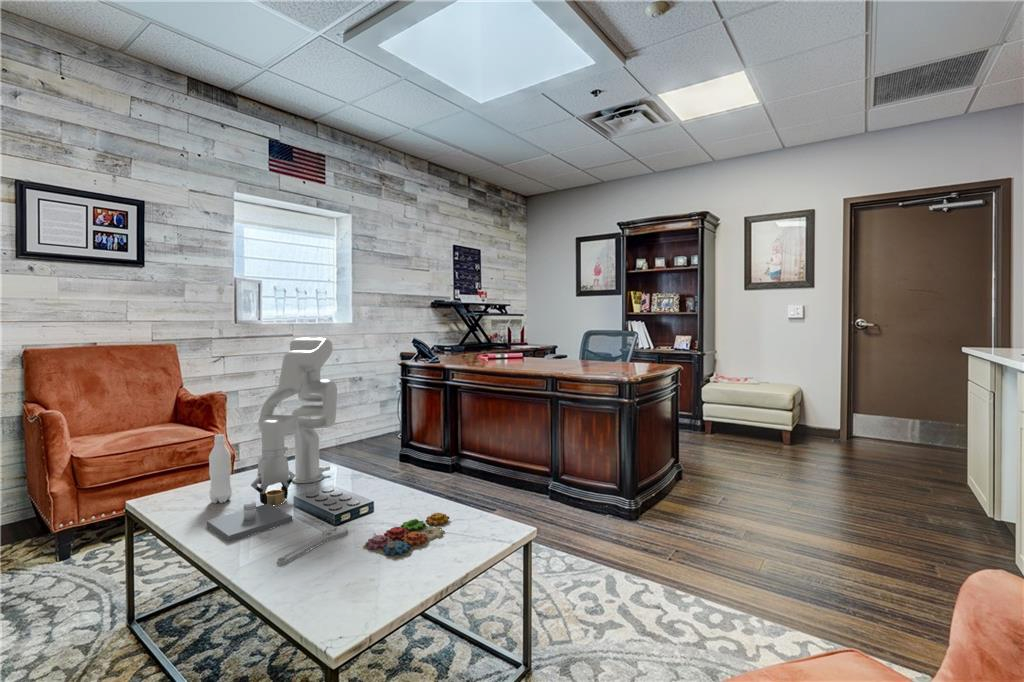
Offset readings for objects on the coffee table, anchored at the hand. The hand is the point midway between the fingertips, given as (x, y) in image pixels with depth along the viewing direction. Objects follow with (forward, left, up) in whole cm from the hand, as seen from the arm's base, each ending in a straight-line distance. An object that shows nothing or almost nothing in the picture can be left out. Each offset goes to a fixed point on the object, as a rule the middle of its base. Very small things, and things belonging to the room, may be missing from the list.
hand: (274, 500), depth 187 cm
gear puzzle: (-16, +62, -2) cm, 64 cm away
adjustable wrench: (+9, +43, -2) cm, 44 cm away
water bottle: (+12, -17, -1) cm, 21 cm away
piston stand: (+14, +13, -1) cm, 19 cm away
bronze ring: (0, 0, -1) cm, 1 cm away
